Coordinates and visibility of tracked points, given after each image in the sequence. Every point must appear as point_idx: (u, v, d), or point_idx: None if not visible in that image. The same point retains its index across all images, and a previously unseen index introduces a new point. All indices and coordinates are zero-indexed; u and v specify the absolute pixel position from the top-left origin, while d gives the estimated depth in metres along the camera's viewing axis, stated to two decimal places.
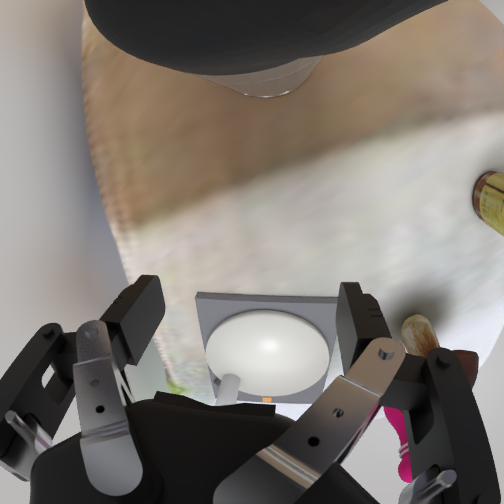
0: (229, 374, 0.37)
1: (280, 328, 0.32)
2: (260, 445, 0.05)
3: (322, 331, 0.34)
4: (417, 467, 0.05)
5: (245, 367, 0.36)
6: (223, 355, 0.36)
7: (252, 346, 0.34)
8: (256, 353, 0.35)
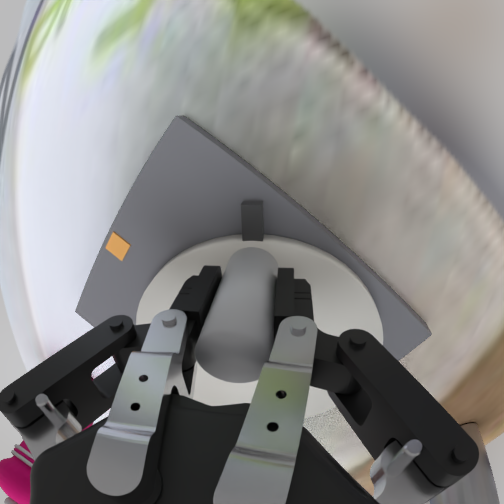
0: None
1: (308, 407, 0.19)
2: None
3: None
4: (372, 445, 0.06)
5: None
6: (330, 317, 0.15)
7: None
8: None
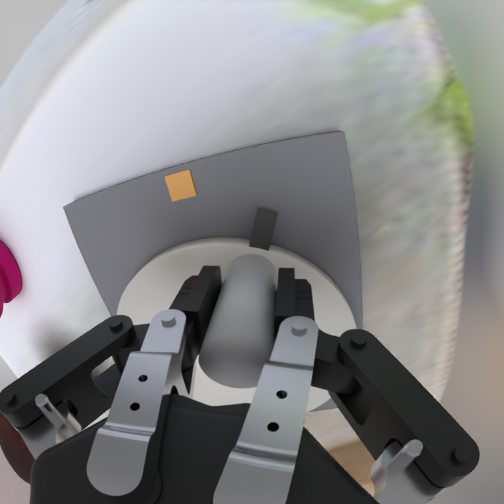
0: None
1: None
2: None
3: None
4: (373, 445, 0.06)
5: None
6: None
7: None
8: None
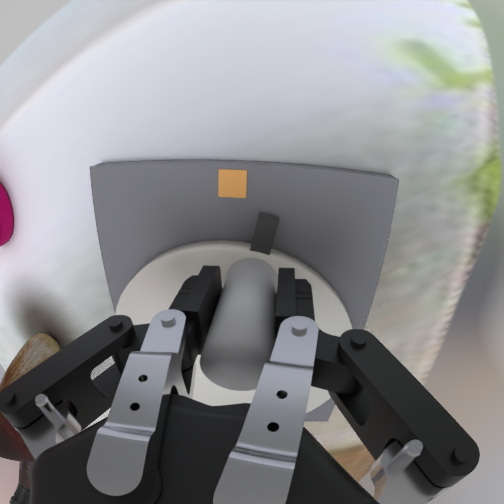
0: None
1: None
2: None
3: None
4: (373, 445, 0.06)
5: None
6: None
7: None
8: None
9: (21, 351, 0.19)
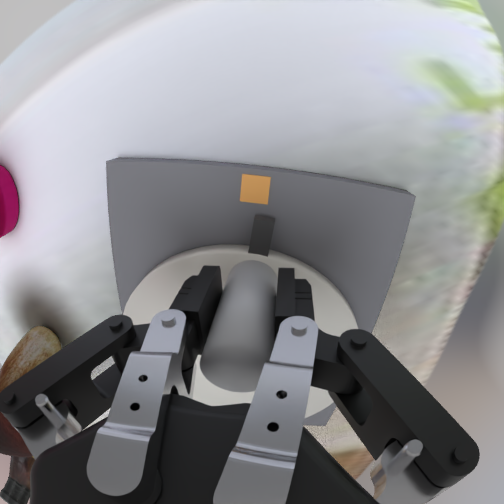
0: None
1: None
2: None
3: None
4: (373, 445, 0.06)
5: None
6: None
7: None
8: None
9: (20, 344, 0.18)
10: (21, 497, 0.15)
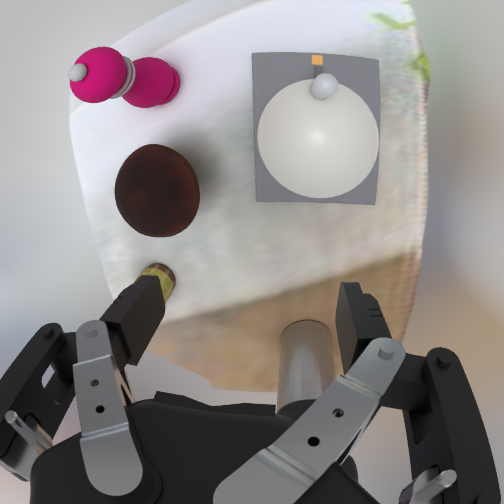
0: (328, 96, 0.31)
1: (347, 179, 0.36)
2: (260, 445, 0.05)
3: None
4: (417, 467, 0.05)
5: (327, 117, 0.33)
6: (352, 113, 0.32)
7: (346, 145, 0.34)
8: (336, 140, 0.34)
9: None
10: None
